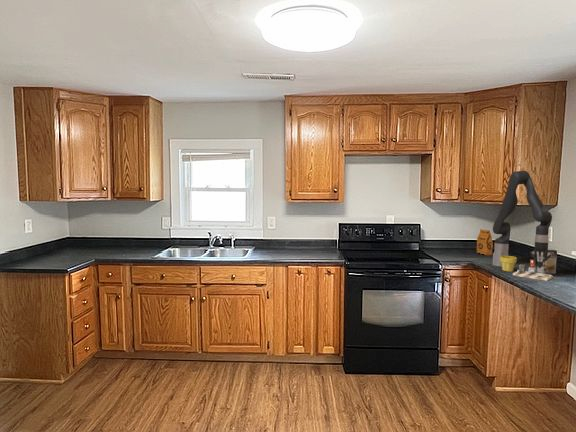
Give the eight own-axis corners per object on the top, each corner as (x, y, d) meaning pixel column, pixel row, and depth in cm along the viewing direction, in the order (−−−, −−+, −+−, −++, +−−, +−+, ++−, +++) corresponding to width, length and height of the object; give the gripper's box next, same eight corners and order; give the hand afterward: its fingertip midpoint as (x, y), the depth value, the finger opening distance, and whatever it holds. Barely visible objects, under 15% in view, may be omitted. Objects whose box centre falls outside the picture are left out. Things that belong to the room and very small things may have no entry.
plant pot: (516, 272, 270) (517, 258, 270) (499, 271, 275) (500, 257, 275) (515, 270, 279) (516, 256, 279) (499, 268, 284) (500, 255, 284)
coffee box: (543, 273, 268) (544, 250, 267) (536, 271, 275) (538, 249, 274) (556, 273, 269) (557, 250, 267) (549, 271, 275) (550, 249, 274)
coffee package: (484, 255, 337) (485, 230, 336) (474, 253, 349) (475, 229, 348) (494, 255, 339) (495, 230, 337) (484, 253, 351) (485, 228, 350)
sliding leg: (526, 273, 258) (526, 260, 258) (530, 272, 264) (530, 259, 263) (531, 274, 256) (532, 261, 255) (535, 273, 261) (536, 259, 260)
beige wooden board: (512, 275, 262) (513, 265, 262) (519, 272, 270) (519, 263, 270) (547, 280, 247) (547, 270, 247) (552, 278, 255) (553, 268, 255)
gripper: (528, 240, 258) (526, 266, 260) (551, 243, 249) (550, 269, 250) (532, 239, 263) (530, 265, 265) (555, 241, 254) (553, 268, 255)
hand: (540, 267), depth 257 cm, fingers closed
